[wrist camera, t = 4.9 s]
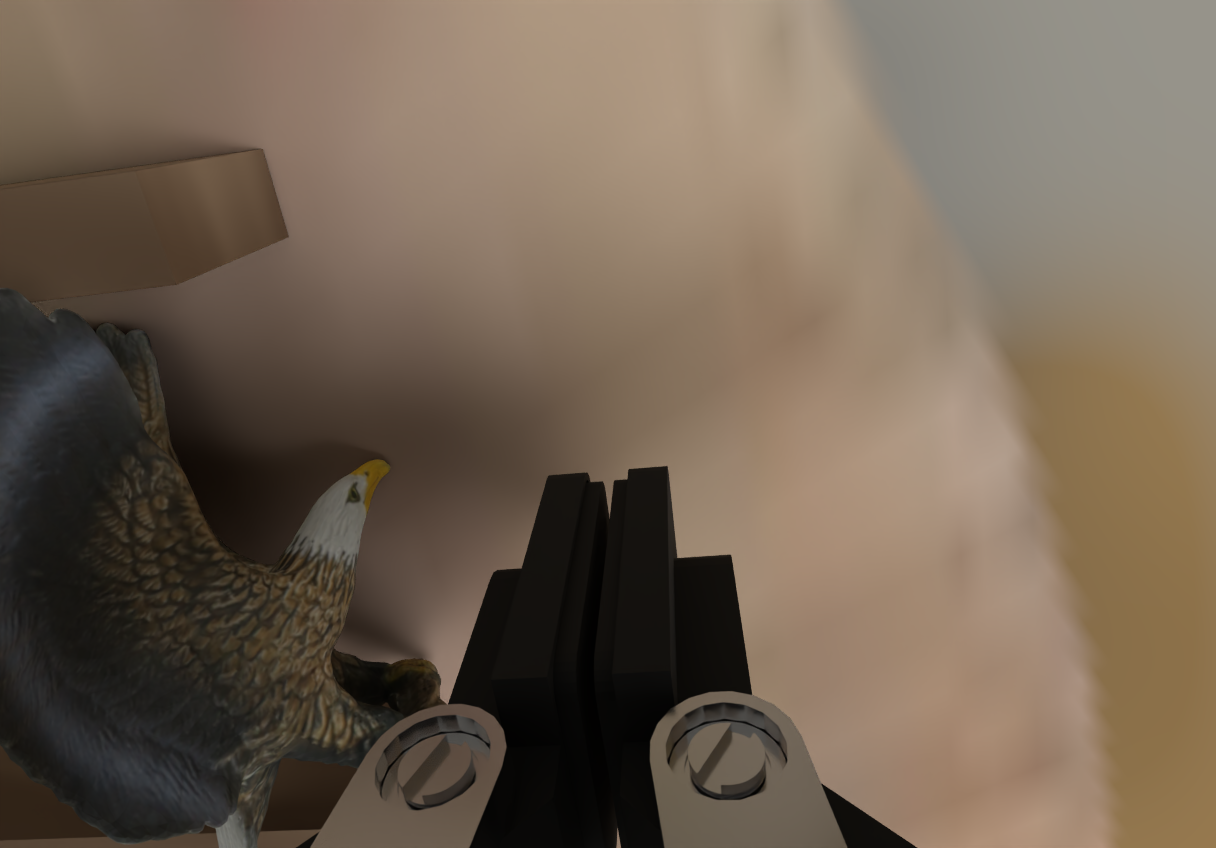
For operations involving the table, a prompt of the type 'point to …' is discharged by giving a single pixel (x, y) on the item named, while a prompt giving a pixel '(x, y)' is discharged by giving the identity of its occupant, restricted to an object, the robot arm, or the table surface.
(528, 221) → the table surface
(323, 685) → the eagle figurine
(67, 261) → the walnut guide
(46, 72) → the table surface
